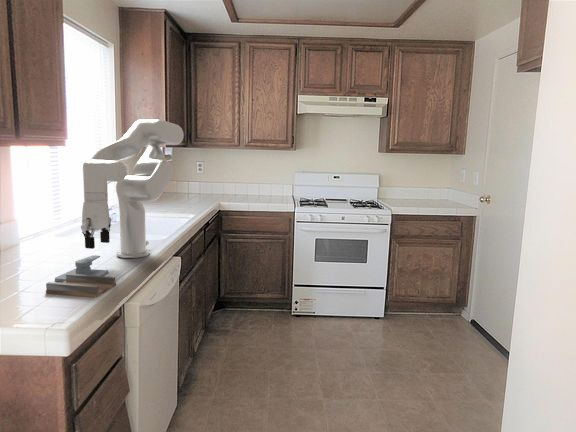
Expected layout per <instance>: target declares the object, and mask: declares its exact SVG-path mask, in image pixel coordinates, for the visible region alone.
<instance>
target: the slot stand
mask: <svg viewBox="0 0 576 432" xmlns="http://www.w3.org/2000/svg"><path fill="white" fill-rule="evenodd" d="M115 286H117V281H116V277H115V276H106V275H104V276H94V275H80V274H66V281H65V282H51V281H49V282H48V281H47V282H46V283H45V287H46V290H45V294H47V295H59V296H74V297H84V298H85V297H86V298H99V296H102V295H103V294H105V293H107V292H108V291H109V290H110V289H112V288H115Z"/></svg>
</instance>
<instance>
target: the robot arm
mask: <svg viewBox="0 0 576 432" xmlns="http://www.w3.org/2000/svg"><path fill="white" fill-rule="evenodd" d="M184 135H185V134H184V130H183V128H182V127H181V126H180V125H179V124H176V123H172V122H170V121H167V120H162V119H150V118H149V119H144V118H143V119H138V120H136V121H135V122H134V123H133V124H132V125H131V127H129V129H128V130H127V131H126V132H125V133H124V134H123V136H122V137H120V139H119V140H116V141H114V142H112V143H110V144H108V145H106V146H105V147H102V148H100V150H98V151H97V152H95V153H94V155H93V156H92V157H91V158H90V159H89V160H88V161H84V162H83V164H82V175H83V176H82V178H83V200H84V202H83V203H82V214H81V225H80V229H81V231H82V232H81V233H82V235H83V238H84V248H85V249H89V250H90V249H92V250H93V249H94V250H95V248H96V245H95V237H94V235H95V232H96V231H99V230H100V243H101V244H103V243H104V244H105V243H106V244H109V243H110V241H111V240H110V231H111V229H110V228H111V226H112V225H111V224H112V218H111V217H110V212H109V211H110V210H109V203H108V201H109V200H108V199H109V196H108V182H116V184H115V191H116V195H117V199H118V206H119V207H118V209H119V237H120V239H119V241H120V250H118V251H117V252H116V256H117V257H119V258H123V259H138V258H143V257H147V256H149V255H150V254H151V250H150V249H147V246H148V245H149V243H150V242H149V241H148V240H146V236H147V235H146V210H145V206H144V204H143V203H142V202H155V201H157V200H158V199H160V197H161V196H162V194H163V192H165V190H166V188H167V187H168V185H169V184H170V182H171V180H172V179H173V173H174V169H173V166H172V163H170V162H169V160H167V159H165V154H164V151H163V150H162V148H161V145H165V146H178V145H180V144H181V143H182V142H183V140H184V137H185V136H184ZM144 148H145V150H144V152H143V154H142V155H141V157H140V158H139V159H138V160H137V162H136V163H135V164H134V166H133V168H132V175H128V168H127V166H126V164H124V162H121V161H123V160H129V159H132V158H134V157H137V156H138V155H140V153H141V152H142V150H143V149H144Z"/></svg>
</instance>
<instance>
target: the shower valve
mask: <svg viewBox="0 0 576 432" xmlns="http://www.w3.org/2000/svg"><path fill="white" fill-rule="evenodd" d="M99 258H101V256H100V255H90V256H88V257H84V258H81V259H78V260H76V261H75V263H74V264H75V267H76V268H73V269H71V270H70V271H67V272H64V273H63V274H60V275H58V276H55V277H54V282H57V283H62V282H65V281H66V274H80V275H94V276H106V275H108V274H109V270H108V269H96V268H95V269H94V268H92V267H91V266H92V265H93V261H96V260H97V259H99Z"/></svg>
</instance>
